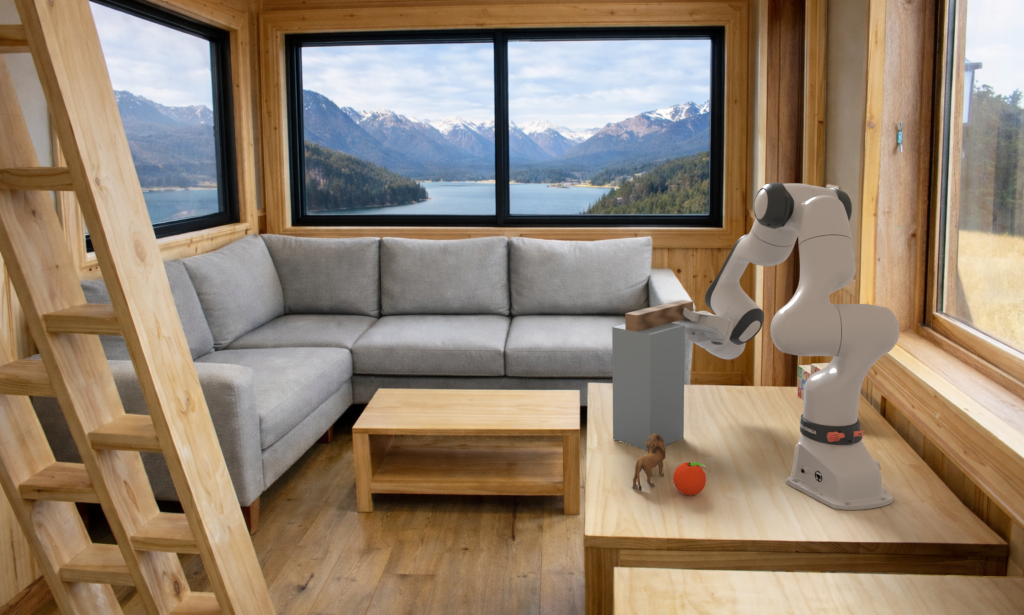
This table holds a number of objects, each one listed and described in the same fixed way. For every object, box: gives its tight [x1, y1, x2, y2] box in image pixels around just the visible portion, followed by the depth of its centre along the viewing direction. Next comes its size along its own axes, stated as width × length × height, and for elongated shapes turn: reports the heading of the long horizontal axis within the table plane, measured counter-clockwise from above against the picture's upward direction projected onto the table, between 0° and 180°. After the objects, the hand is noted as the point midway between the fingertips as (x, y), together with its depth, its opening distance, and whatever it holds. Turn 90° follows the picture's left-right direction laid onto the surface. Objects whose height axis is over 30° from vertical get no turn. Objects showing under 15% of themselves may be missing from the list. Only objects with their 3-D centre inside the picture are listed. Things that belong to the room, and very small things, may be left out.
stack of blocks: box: [797, 362, 830, 401], centre depth 232 cm, size 21×6×12 cm, turn 2°
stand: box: [611, 323, 686, 452], centre depth 210 cm, size 13×12×29 cm
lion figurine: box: [631, 434, 667, 492], centre depth 186 cm, size 15×5×9 cm, turn 157°
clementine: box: [672, 461, 711, 496], centre depth 179 cm, size 8×7×7 cm
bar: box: [624, 299, 694, 332], centre depth 209 cm, size 22×4×4 cm, turn 131°
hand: (674, 309), depth 213 cm, fingers closed on bar, 3 cm apart
